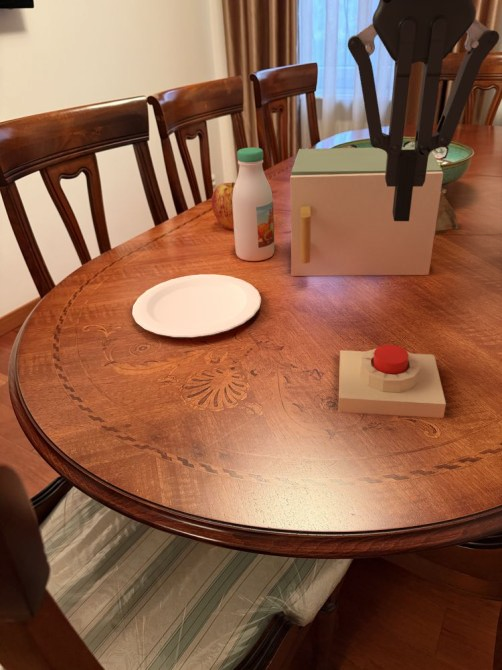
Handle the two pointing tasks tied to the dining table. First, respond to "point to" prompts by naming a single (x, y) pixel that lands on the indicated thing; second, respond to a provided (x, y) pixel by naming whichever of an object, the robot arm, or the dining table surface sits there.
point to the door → (360, 226)
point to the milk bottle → (252, 208)
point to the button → (390, 359)
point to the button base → (390, 386)
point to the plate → (196, 306)
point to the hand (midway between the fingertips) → (400, 216)
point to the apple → (224, 204)
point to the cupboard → (347, 161)
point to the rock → (445, 216)
